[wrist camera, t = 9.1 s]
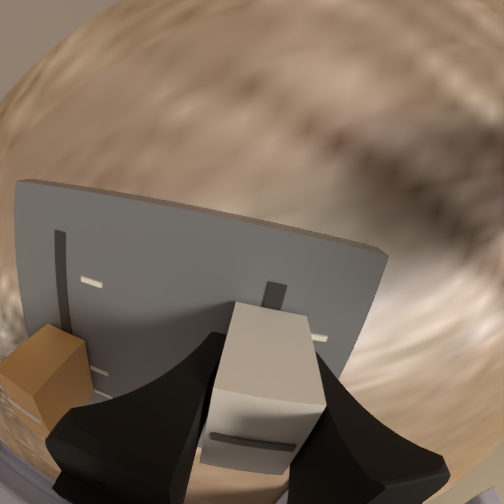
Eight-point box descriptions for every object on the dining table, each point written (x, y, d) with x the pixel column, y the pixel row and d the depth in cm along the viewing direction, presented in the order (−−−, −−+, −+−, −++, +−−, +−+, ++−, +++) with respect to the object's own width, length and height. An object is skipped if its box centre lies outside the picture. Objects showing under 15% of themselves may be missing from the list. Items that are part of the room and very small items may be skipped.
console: (289, 447, 15) (290, 462, 14) (50, 373, 15) (41, 383, 14) (377, 248, 11) (389, 256, 10) (30, 179, 11) (14, 180, 10)
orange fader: (94, 391, 13) (55, 446, 8) (59, 374, 13) (18, 421, 8) (84, 340, 12) (31, 397, 7) (47, 323, 12) (-7, 369, 7)
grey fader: (280, 388, 12) (281, 477, 7) (220, 377, 12) (199, 465, 7) (306, 315, 10) (326, 408, 6) (235, 301, 10) (212, 390, 6)
